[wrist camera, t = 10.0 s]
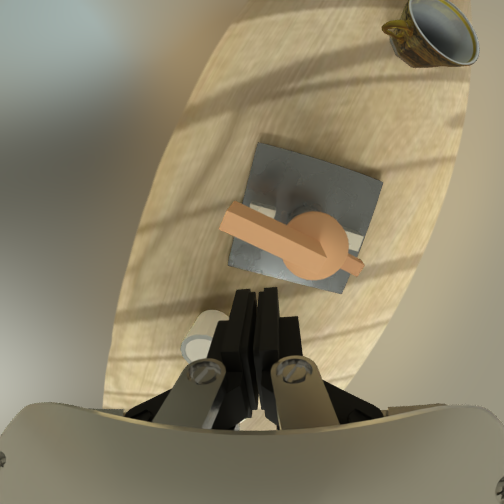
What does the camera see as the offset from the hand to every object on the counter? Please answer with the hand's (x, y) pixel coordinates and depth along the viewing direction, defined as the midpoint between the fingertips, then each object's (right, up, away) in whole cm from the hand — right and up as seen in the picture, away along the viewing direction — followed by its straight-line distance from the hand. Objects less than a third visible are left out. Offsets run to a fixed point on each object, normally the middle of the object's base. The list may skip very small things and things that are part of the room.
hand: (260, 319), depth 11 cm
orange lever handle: (+4, +4, +15) cm, 16 cm away
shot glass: (-6, -8, +30) cm, 32 cm away
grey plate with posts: (+6, +7, +23) cm, 25 cm away
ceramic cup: (+20, +30, +13) cm, 38 cm away
